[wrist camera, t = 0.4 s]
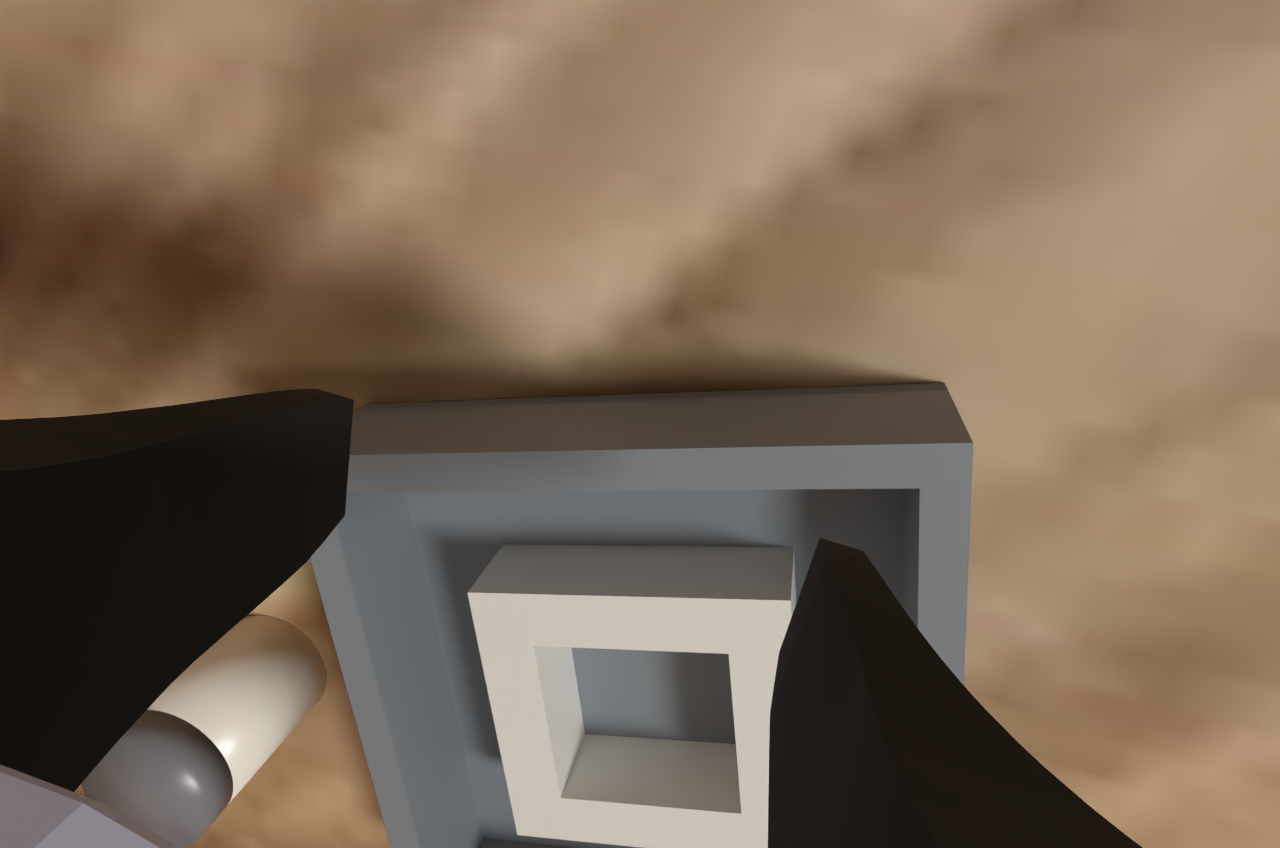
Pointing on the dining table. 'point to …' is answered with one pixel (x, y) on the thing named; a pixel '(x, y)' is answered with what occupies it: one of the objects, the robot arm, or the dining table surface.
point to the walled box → (610, 515)
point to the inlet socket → (631, 620)
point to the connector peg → (211, 730)
